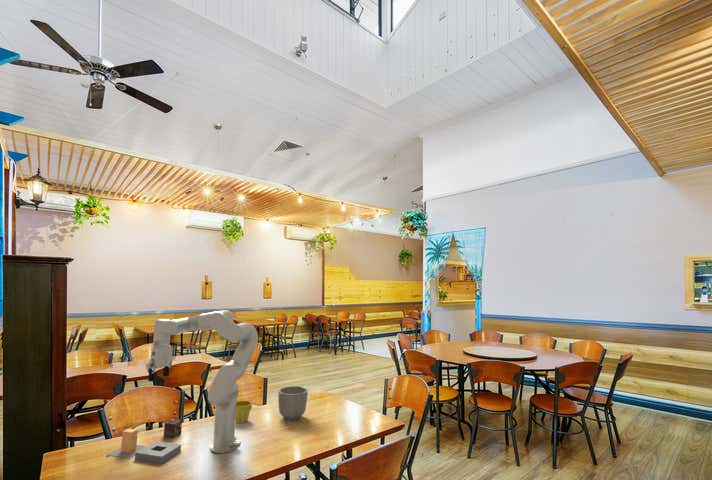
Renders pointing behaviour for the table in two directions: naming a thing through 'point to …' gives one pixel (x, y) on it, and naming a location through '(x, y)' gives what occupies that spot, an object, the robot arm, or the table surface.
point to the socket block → (158, 452)
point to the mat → (124, 454)
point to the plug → (129, 440)
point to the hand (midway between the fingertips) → (158, 378)
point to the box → (172, 428)
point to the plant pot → (242, 411)
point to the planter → (292, 402)
